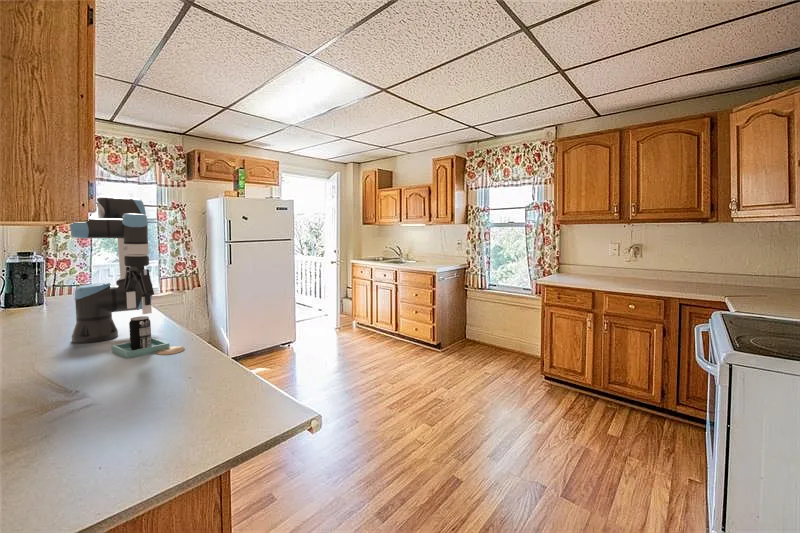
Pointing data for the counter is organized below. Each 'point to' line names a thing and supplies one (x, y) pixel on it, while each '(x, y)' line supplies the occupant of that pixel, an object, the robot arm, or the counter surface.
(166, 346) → the tray
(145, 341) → the beverage can
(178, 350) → the cork coaster
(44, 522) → the counter surface
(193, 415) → the counter surface
